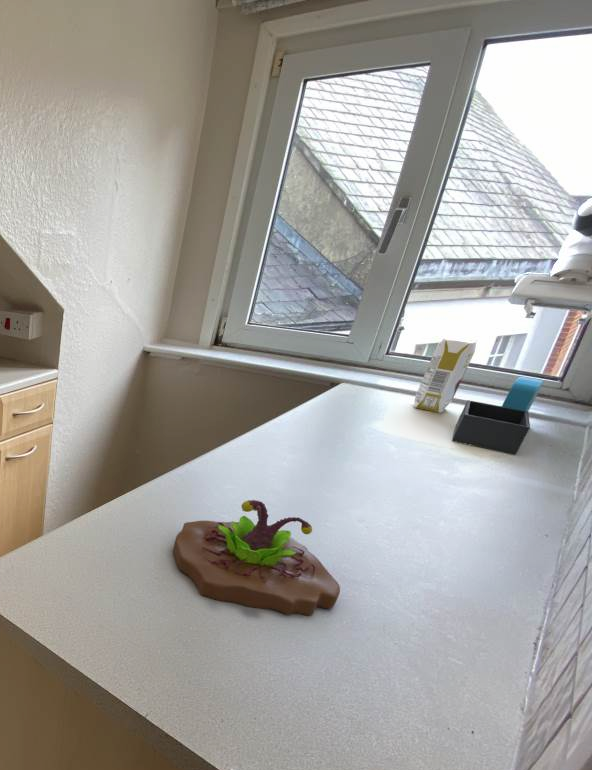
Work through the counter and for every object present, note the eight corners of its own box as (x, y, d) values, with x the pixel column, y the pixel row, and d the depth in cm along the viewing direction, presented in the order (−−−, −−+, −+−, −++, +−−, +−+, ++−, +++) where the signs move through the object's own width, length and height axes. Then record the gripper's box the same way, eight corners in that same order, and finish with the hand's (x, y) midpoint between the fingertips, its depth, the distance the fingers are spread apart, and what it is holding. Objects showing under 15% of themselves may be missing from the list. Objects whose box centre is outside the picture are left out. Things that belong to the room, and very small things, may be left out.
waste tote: (514, 437, 133) (528, 411, 131) (515, 455, 123) (530, 427, 120) (455, 424, 140) (467, 400, 137) (451, 440, 129) (464, 414, 126)
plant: (158, 527, 88) (173, 463, 83) (284, 537, 86) (307, 474, 81) (195, 607, 70) (217, 533, 65) (354, 623, 68) (390, 548, 63)
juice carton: (409, 407, 152) (439, 338, 144) (415, 401, 158) (444, 334, 149) (443, 414, 147) (476, 343, 139) (449, 408, 153) (480, 340, 144)
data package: (498, 419, 145) (520, 375, 140) (521, 424, 142) (545, 379, 137) (490, 428, 138) (513, 382, 133) (514, 434, 135) (538, 387, 130)
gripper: (523, 263, 143) (504, 305, 141) (638, 271, 131) (620, 317, 129) (514, 280, 148) (496, 321, 146) (625, 289, 136) (607, 334, 134)
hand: (555, 319), depth 137 cm, fingers open, 8 cm apart
